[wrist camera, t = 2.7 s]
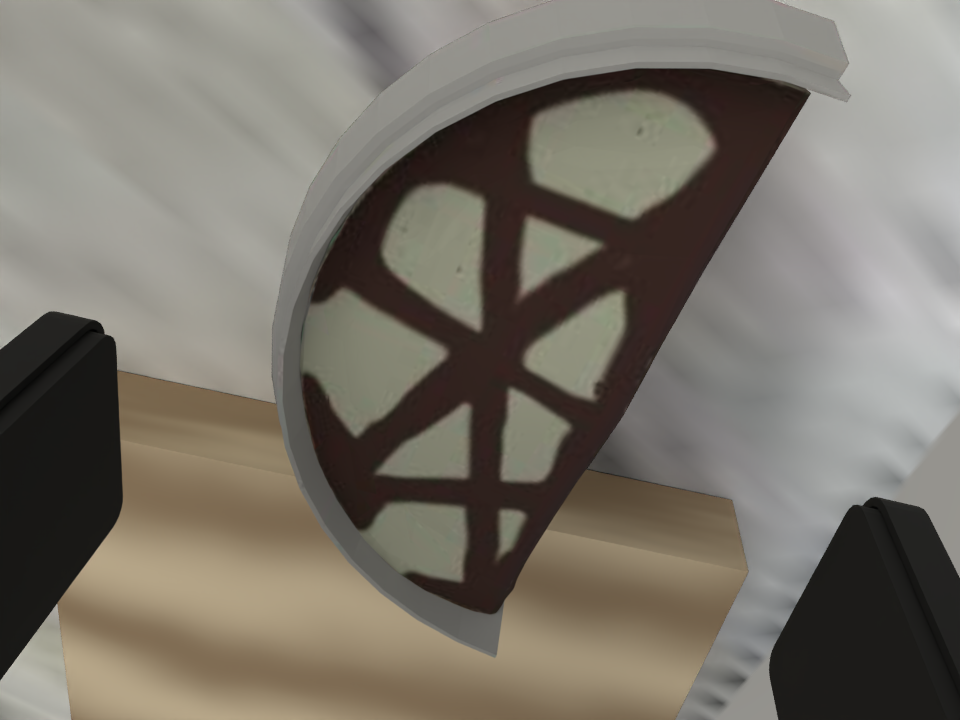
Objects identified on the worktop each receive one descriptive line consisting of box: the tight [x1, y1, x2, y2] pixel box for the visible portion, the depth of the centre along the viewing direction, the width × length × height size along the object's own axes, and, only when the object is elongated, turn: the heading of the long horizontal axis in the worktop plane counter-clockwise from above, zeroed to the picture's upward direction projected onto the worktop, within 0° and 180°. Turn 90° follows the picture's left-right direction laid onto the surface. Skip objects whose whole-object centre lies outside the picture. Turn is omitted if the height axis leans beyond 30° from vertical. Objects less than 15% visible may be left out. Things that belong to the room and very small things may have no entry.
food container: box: [272, 0, 851, 658], centre depth 17 cm, size 12×6×10 cm, turn 158°
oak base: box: [57, 371, 748, 720], centre depth 29 cm, size 16×20×3 cm
